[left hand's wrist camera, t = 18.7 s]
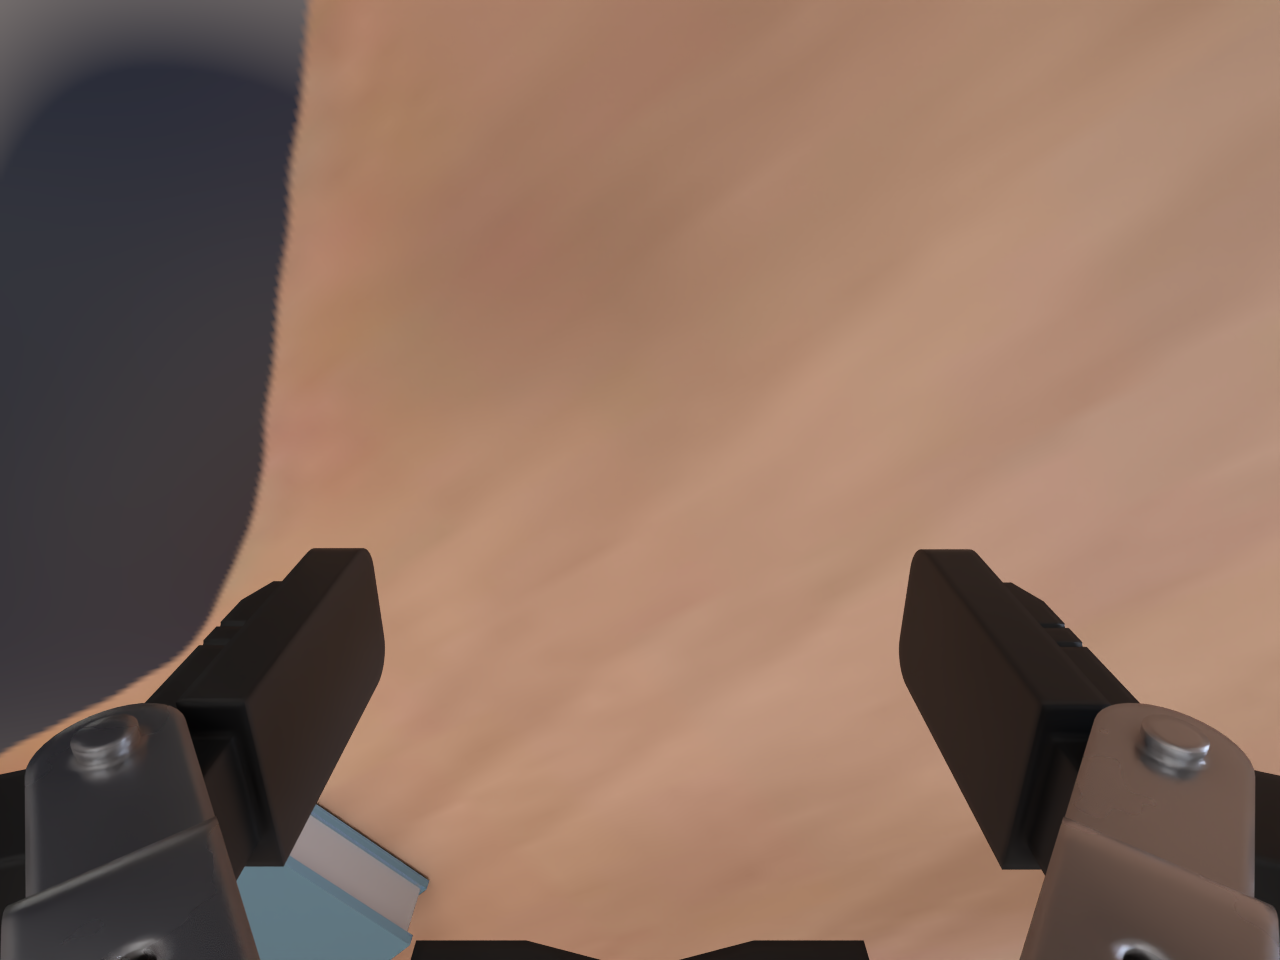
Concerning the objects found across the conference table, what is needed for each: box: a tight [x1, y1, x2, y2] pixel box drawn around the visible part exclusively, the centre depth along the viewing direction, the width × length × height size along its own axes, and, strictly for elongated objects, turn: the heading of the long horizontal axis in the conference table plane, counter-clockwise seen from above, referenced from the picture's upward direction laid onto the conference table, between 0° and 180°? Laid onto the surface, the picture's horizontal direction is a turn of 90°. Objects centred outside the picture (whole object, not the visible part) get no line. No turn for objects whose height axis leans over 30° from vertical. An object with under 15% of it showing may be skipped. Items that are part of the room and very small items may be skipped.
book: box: [236, 804, 429, 960], centre depth 54 cm, size 23×16×5 cm
